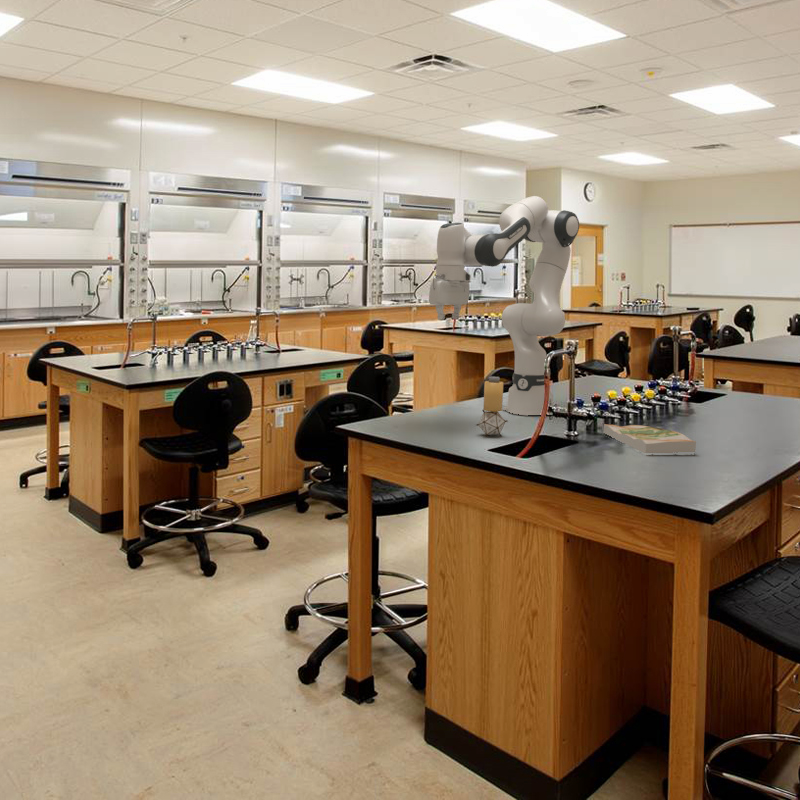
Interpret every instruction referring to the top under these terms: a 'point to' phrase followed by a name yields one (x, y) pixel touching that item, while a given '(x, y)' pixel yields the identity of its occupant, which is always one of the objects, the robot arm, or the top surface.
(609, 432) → the topographic model
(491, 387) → the bottle
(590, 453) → the top surface
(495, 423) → the game die
